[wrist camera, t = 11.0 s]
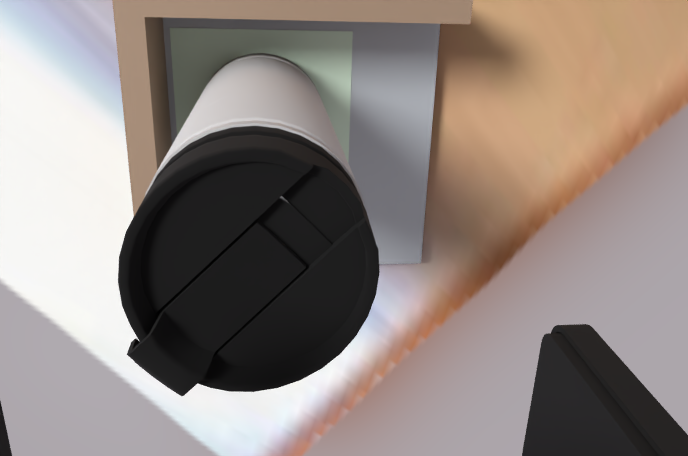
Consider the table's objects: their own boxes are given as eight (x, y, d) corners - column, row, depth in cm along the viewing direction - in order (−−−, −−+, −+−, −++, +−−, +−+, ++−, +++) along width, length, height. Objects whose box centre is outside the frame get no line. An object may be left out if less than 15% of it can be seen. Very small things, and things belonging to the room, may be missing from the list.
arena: (438, -9, 33) (473, -5, 27) (417, 257, 38) (442, 304, 33) (137, -18, 31) (110, -16, 26) (161, 263, 36) (143, 313, 31)
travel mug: (170, 116, 33) (40, 300, 14) (262, 25, 31) (253, 94, 13) (257, 199, 35) (243, 453, 16) (346, 116, 34) (441, 288, 15)
